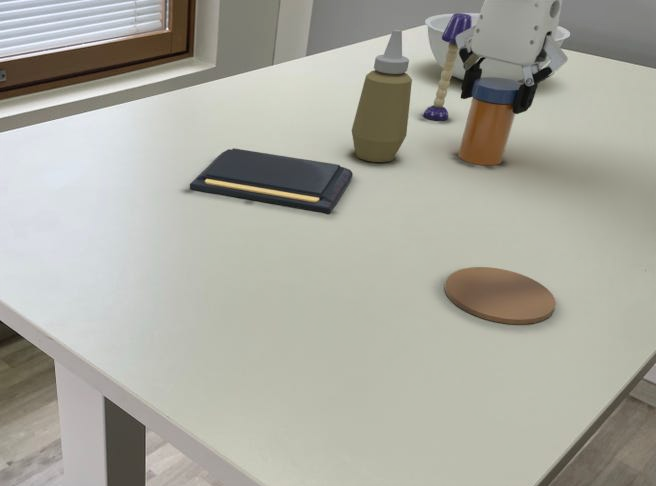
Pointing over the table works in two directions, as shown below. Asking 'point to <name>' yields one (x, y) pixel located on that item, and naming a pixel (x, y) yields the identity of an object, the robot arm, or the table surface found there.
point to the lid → (496, 90)
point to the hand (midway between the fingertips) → (493, 103)
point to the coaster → (500, 295)
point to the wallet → (275, 179)
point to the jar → (486, 132)
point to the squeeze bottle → (383, 105)
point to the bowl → (489, 65)
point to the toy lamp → (448, 64)
